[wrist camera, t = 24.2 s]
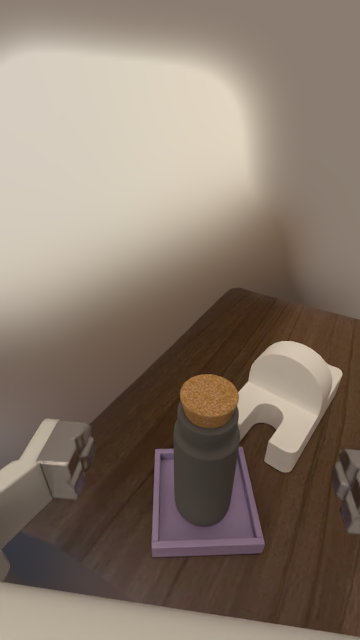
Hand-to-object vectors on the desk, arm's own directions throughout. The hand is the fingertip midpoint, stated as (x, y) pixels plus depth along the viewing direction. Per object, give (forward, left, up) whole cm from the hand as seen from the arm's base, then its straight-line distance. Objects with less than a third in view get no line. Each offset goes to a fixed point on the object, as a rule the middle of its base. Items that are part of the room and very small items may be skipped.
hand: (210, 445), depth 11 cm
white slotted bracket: (+24, -14, -25) cm, 38 cm away
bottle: (+12, -2, -25) cm, 27 cm away
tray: (+12, -2, -25) cm, 28 cm away
